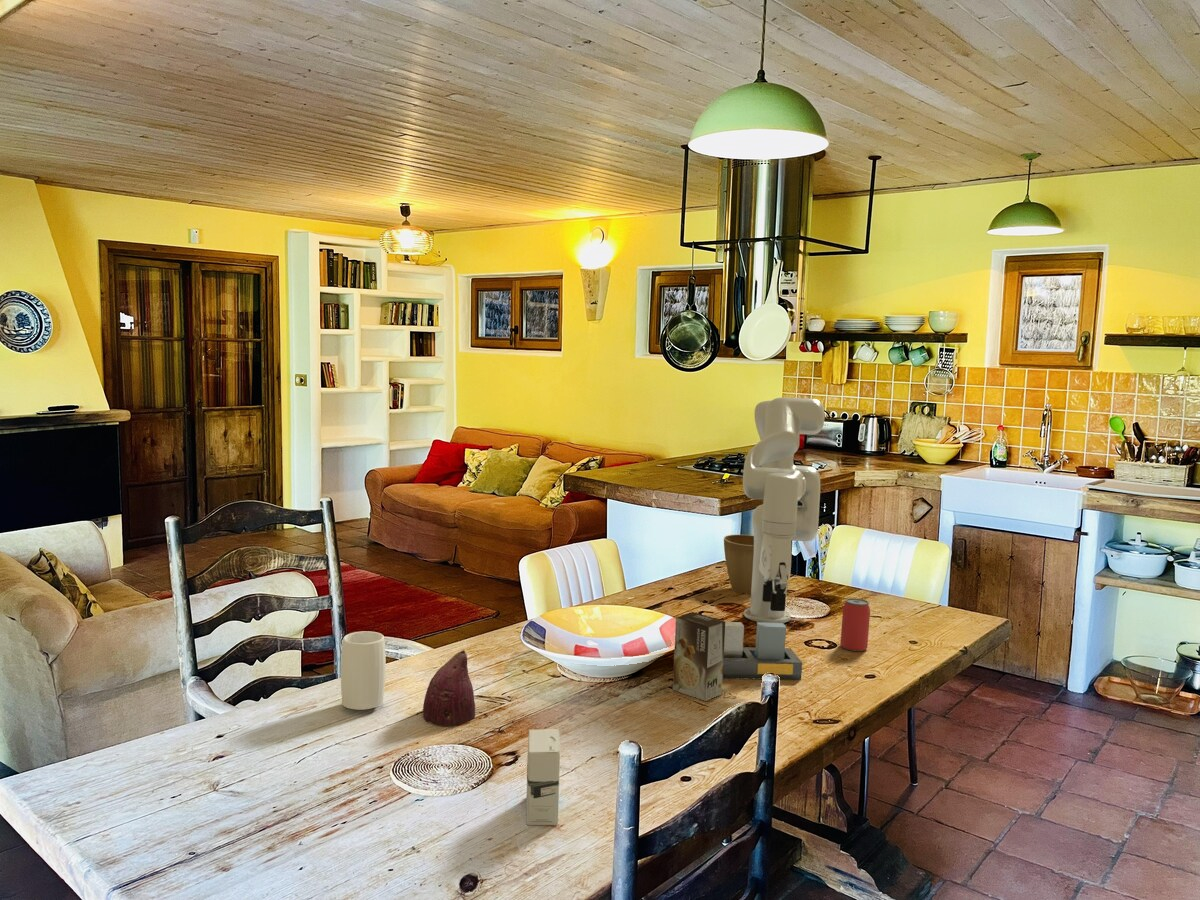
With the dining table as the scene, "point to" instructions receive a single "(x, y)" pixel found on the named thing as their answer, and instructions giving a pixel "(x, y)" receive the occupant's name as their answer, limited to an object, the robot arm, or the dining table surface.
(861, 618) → the beer can
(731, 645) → the rack
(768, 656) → the block
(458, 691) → the vegetable
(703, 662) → the coffee box
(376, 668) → the cup
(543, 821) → the ink box
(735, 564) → the plant pot
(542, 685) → the dining table surface
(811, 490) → the robot arm
